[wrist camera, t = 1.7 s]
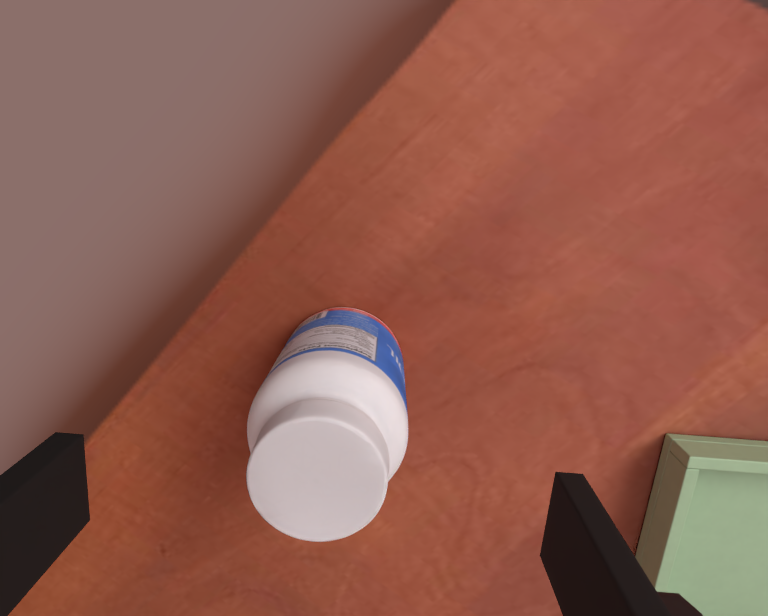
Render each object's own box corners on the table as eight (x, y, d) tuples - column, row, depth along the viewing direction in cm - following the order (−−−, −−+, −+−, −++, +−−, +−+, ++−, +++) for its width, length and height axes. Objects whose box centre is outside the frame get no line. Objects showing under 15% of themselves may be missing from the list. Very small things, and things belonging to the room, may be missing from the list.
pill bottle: (397, 418, 25) (402, 575, 15) (283, 408, 25) (218, 560, 15) (409, 308, 23) (422, 406, 14) (288, 297, 23) (219, 388, 14)
